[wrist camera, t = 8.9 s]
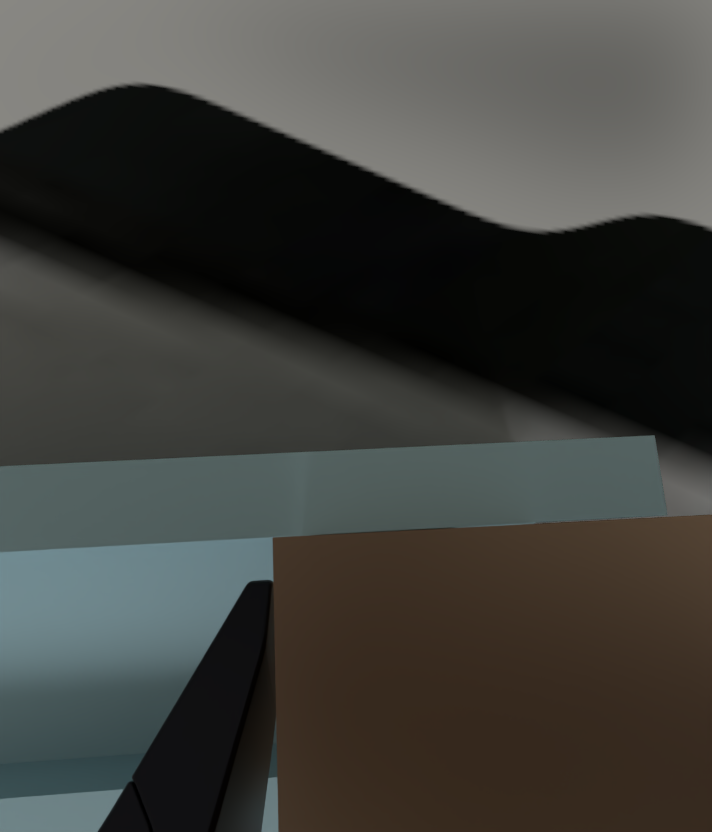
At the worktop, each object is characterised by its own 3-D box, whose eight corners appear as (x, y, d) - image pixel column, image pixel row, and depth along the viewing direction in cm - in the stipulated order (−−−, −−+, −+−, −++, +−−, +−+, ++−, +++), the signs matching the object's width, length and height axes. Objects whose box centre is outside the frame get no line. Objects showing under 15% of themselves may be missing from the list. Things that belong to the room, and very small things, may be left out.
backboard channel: (556, 768, 17) (739, 960, 10) (-119, 822, 16) (-530, 1087, 9) (522, 474, 19) (654, 435, 11) (-87, 505, 18) (-403, 484, 10)
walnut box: (465, 677, 17) (839, 1072, 5) (318, 687, 17) (284, 1133, 4) (452, 528, 18) (736, 513, 6) (313, 535, 18) (273, 537, 5)
